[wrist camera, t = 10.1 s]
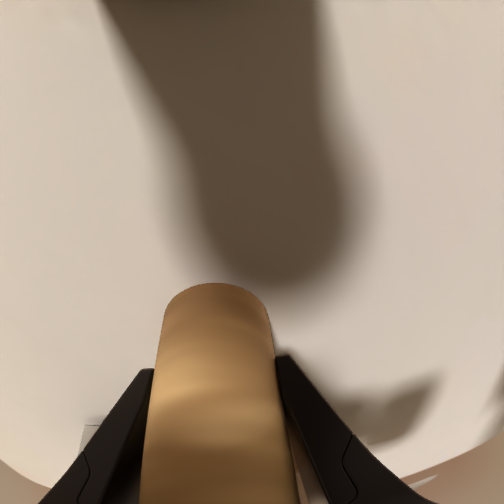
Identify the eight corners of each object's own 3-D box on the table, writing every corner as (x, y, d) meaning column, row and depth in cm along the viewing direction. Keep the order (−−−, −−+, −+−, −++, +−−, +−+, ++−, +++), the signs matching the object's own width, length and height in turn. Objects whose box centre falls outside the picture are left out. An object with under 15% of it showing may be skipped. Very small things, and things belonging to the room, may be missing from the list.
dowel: (263, 275, 10) (315, 559, 3) (271, 352, 12) (307, 564, 5) (150, 290, 10) (103, 555, 3) (178, 363, 12) (169, 569, 5)
